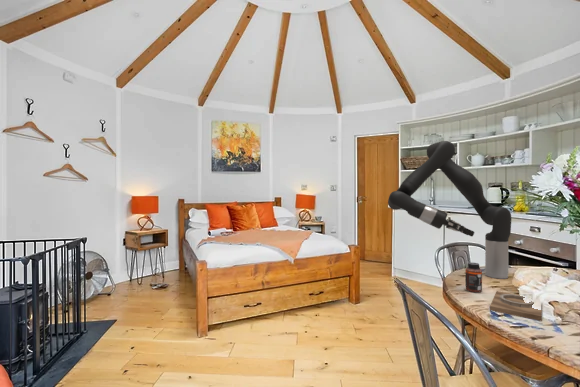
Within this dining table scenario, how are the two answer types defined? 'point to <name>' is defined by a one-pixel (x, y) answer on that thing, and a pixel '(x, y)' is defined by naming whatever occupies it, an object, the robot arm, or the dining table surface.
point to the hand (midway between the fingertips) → (471, 233)
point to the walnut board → (514, 306)
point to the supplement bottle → (473, 278)
